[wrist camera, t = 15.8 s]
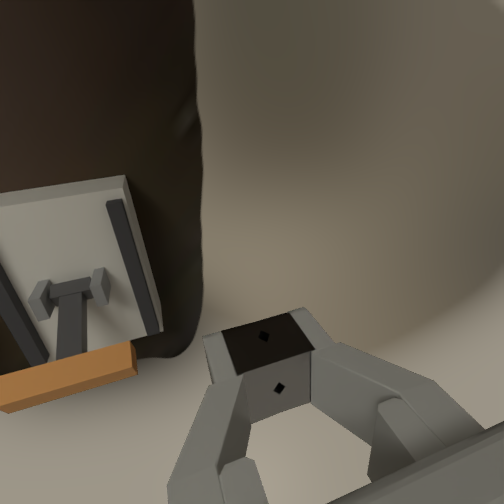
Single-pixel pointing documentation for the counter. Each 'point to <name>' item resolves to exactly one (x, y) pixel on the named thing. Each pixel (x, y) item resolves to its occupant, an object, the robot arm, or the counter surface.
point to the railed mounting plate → (20, 325)
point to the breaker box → (74, 257)
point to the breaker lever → (68, 357)
